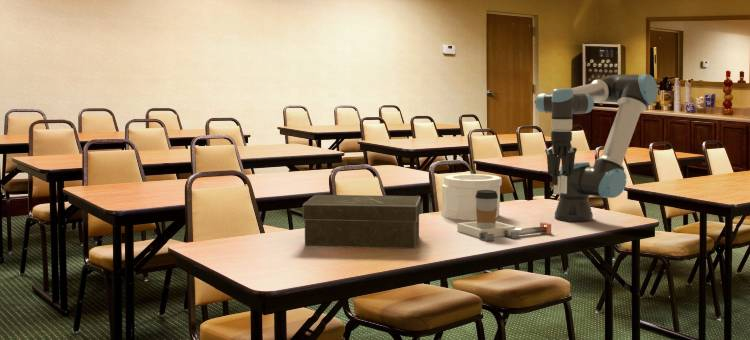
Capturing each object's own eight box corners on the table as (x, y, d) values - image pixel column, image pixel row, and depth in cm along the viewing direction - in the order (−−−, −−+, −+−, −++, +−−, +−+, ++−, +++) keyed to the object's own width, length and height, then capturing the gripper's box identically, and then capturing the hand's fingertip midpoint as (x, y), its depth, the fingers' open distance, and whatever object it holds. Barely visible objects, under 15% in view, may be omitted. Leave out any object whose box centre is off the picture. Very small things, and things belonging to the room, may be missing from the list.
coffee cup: (496, 233, 290) (497, 193, 288) (474, 232, 292) (474, 192, 290) (497, 229, 298) (498, 190, 296) (475, 228, 300) (476, 189, 298)
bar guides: (510, 235, 290) (511, 229, 289) (519, 237, 285) (519, 231, 285) (479, 239, 283) (479, 232, 283) (486, 241, 279) (487, 234, 279)
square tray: (490, 227, 305) (491, 219, 305) (515, 234, 292) (515, 226, 291) (457, 231, 298) (457, 223, 298) (480, 238, 285) (480, 230, 284)
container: (469, 208, 351) (469, 172, 349) (511, 215, 333) (512, 177, 332) (430, 215, 334) (430, 177, 332) (473, 222, 317) (473, 182, 315)
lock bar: (544, 231, 296) (544, 222, 296) (551, 233, 293) (551, 224, 292) (504, 236, 288) (505, 226, 288) (511, 238, 284) (511, 228, 284)
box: (416, 249, 268) (416, 205, 266) (302, 247, 272) (302, 203, 270) (420, 236, 290) (420, 196, 288) (315, 234, 294) (314, 194, 292)
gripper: (571, 129, 299) (569, 190, 302) (538, 130, 292) (537, 193, 295) (584, 130, 293) (583, 193, 295) (551, 131, 286) (550, 196, 288)
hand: (560, 193), depth 295 cm, fingers open, 3 cm apart
